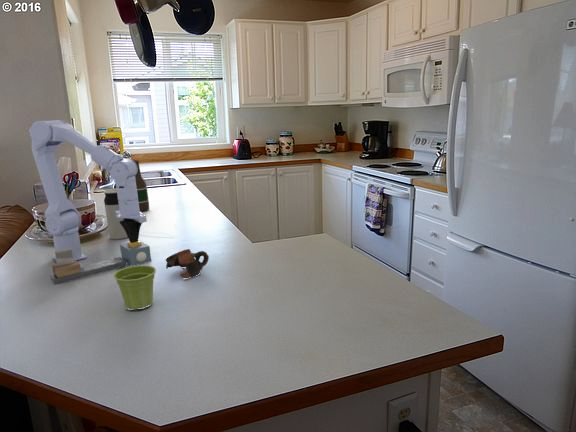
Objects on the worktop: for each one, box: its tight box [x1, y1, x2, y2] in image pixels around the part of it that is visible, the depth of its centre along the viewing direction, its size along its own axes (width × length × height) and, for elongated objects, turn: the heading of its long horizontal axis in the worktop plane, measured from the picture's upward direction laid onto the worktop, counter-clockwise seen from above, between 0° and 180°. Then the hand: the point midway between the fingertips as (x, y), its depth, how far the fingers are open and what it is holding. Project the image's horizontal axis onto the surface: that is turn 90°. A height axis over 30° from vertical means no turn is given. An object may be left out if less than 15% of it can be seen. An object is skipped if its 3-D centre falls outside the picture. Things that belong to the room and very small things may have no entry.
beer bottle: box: [132, 159, 150, 213], centre depth 200 cm, size 8×8×24 cm
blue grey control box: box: [119, 240, 152, 267], centre depth 133 cm, size 9×6×5 cm, turn 40°
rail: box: [49, 256, 128, 285], centre depth 125 cm, size 5×20×2 cm, turn 130°
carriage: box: [51, 248, 81, 278], centre depth 120 cm, size 6×6×6 cm
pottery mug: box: [165, 248, 209, 279], centre depth 121 cm, size 12×10×8 cm
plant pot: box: [113, 264, 157, 309], centre depth 100 cm, size 9×9×9 cm
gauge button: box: [127, 239, 142, 248], centre depth 132 cm, size 3×3×4 cm
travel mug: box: [103, 188, 128, 240], centre depth 158 cm, size 8×8×18 cm
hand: (134, 241), depth 132 cm, fingers closed
